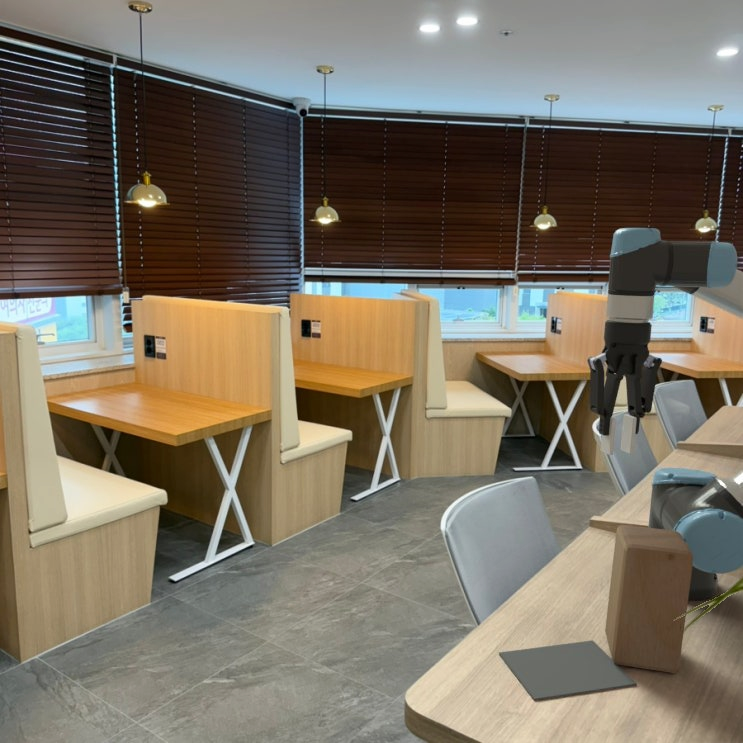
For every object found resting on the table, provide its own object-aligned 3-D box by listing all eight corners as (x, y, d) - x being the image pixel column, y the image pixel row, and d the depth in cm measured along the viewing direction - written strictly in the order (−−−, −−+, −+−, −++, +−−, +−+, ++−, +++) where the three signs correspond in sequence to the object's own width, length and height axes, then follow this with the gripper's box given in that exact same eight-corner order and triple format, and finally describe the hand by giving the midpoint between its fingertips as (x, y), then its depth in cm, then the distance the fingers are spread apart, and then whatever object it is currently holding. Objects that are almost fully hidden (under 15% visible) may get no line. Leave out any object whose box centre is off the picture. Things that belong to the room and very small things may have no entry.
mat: (592, 642, 115) (592, 640, 115) (636, 685, 104) (636, 683, 104) (498, 654, 111) (498, 652, 111) (534, 700, 100) (534, 698, 100)
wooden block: (679, 676, 106) (696, 554, 103) (611, 666, 108) (625, 545, 105) (665, 642, 116) (680, 529, 113) (603, 633, 118) (616, 521, 114)
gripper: (655, 318, 124) (643, 444, 128) (573, 317, 120) (564, 448, 124) (684, 322, 117) (670, 456, 121) (598, 322, 113) (587, 460, 116)
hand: (616, 452), depth 122 cm, fingers open, 3 cm apart
